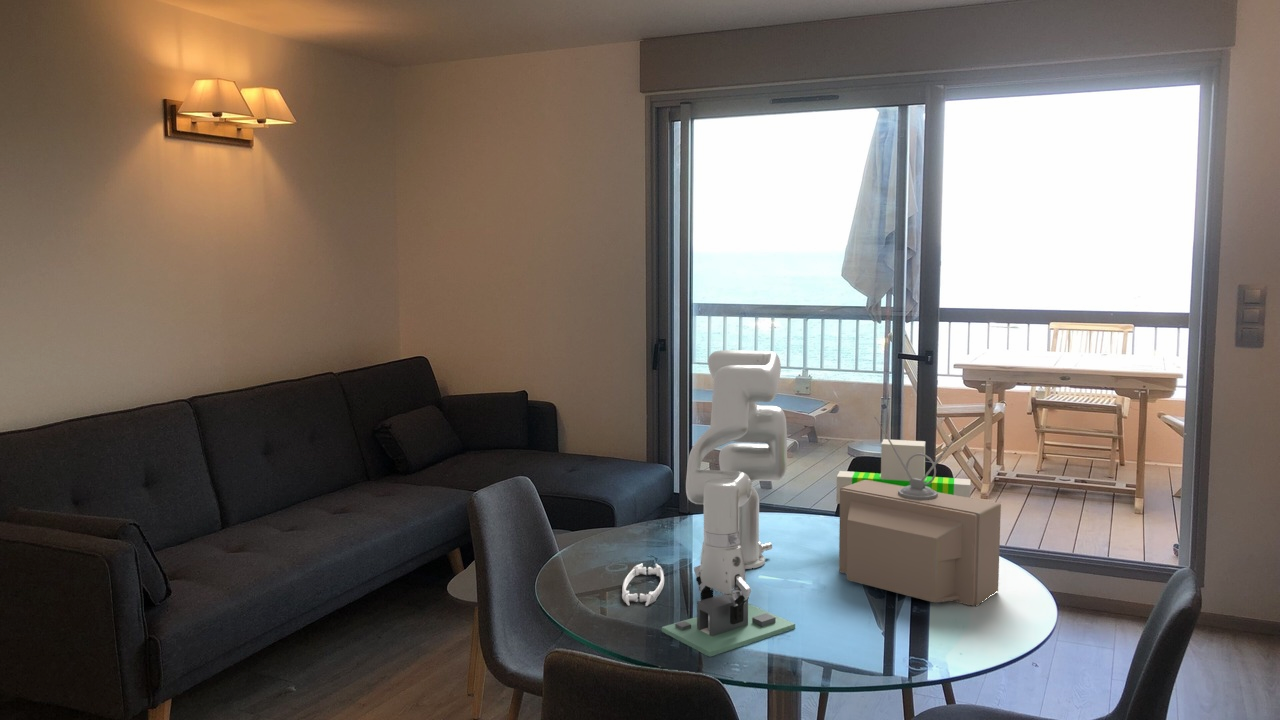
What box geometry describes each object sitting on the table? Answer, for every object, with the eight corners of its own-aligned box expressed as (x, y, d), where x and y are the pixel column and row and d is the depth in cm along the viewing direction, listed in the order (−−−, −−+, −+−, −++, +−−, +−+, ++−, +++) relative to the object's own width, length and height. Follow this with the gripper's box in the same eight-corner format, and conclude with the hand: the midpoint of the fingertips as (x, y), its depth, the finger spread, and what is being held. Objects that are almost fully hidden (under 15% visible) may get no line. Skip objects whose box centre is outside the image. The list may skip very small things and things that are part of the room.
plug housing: (732, 617, 205) (732, 591, 204) (747, 624, 201) (748, 597, 200) (697, 628, 199) (696, 601, 198) (712, 636, 195) (712, 608, 194)
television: (1000, 591, 222) (1006, 425, 217) (962, 616, 207) (967, 438, 203) (865, 559, 247) (868, 409, 242) (823, 579, 232) (824, 420, 228)
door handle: (668, 572, 239) (658, 608, 215) (630, 571, 240) (616, 607, 216) (668, 562, 239) (658, 597, 214) (630, 561, 240) (616, 595, 215)
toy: (968, 554, 250) (971, 443, 246) (968, 561, 243) (971, 448, 240) (839, 542, 261) (840, 436, 258) (835, 549, 254) (837, 441, 251)
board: (745, 606, 214) (745, 592, 214) (795, 628, 201) (795, 613, 201) (661, 631, 200) (661, 616, 200) (709, 656, 187) (709, 640, 187)
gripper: (762, 544, 193) (762, 624, 195) (708, 525, 207) (709, 599, 209) (735, 551, 188) (735, 633, 190) (682, 531, 202) (682, 607, 204)
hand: (721, 615), depth 199 cm, fingers open, 9 cm apart
